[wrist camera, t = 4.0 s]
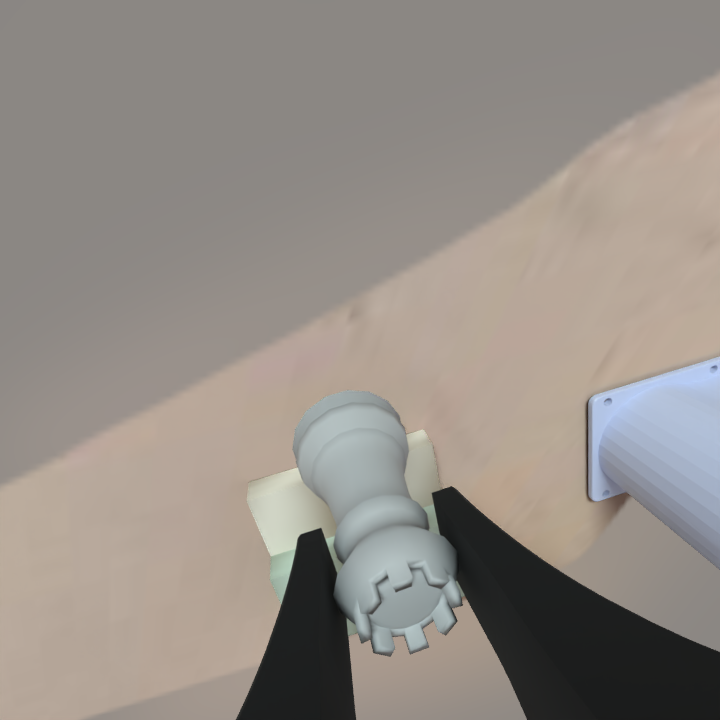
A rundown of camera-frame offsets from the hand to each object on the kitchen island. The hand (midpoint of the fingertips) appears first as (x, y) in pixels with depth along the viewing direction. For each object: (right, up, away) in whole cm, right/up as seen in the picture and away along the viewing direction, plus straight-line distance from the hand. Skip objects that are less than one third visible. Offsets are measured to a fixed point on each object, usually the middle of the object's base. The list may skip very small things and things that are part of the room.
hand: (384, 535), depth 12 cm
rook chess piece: (-1, +2, +5) cm, 6 cm away
